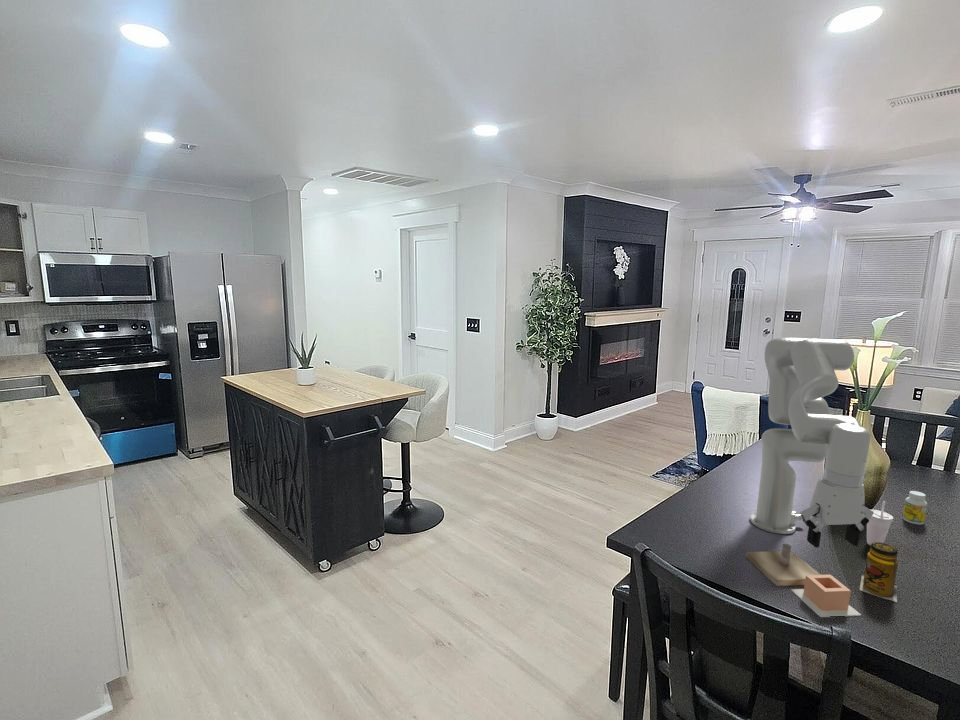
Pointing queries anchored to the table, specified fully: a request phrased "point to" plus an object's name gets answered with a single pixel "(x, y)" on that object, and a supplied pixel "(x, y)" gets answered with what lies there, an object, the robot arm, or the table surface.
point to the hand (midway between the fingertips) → (832, 543)
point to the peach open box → (827, 592)
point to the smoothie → (878, 526)
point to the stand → (782, 566)
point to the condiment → (881, 571)
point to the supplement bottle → (915, 508)
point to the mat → (821, 613)
